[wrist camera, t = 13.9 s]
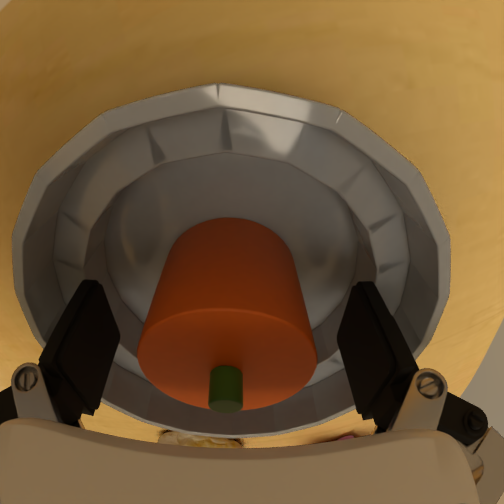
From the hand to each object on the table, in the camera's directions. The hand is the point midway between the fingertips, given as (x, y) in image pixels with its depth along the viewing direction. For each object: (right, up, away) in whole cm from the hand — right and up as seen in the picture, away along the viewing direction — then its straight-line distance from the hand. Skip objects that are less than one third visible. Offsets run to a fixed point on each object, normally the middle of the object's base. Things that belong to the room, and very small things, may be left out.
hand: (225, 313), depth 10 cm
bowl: (0, +2, +3) cm, 3 cm away
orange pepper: (0, +1, +2) cm, 3 cm away
